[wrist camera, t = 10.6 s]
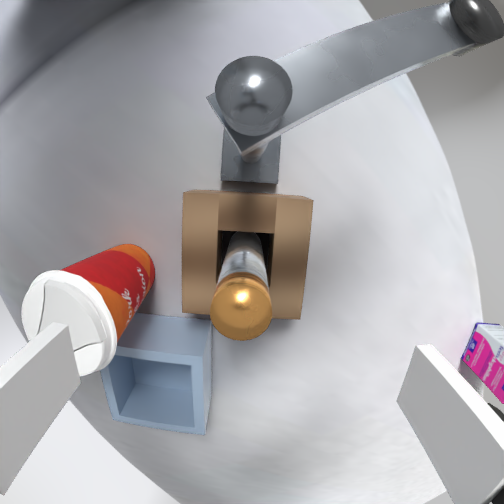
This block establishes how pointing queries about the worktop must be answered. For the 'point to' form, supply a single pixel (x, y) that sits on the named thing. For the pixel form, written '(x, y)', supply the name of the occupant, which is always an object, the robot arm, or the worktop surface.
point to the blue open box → (162, 373)
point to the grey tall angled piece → (342, 68)
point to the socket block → (246, 220)
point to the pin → (242, 290)
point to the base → (250, 172)
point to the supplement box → (487, 356)
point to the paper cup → (91, 302)
